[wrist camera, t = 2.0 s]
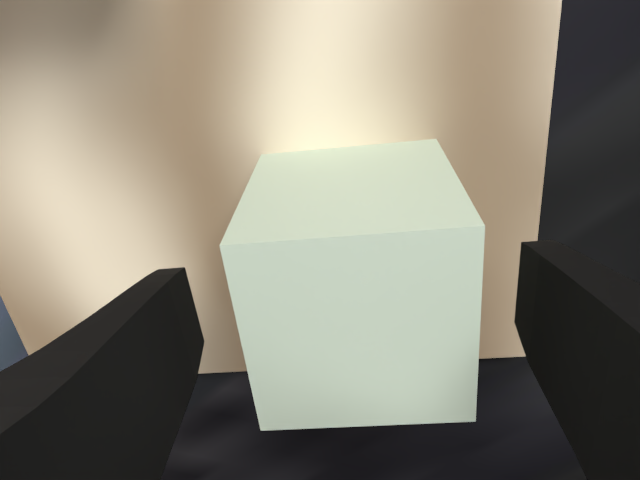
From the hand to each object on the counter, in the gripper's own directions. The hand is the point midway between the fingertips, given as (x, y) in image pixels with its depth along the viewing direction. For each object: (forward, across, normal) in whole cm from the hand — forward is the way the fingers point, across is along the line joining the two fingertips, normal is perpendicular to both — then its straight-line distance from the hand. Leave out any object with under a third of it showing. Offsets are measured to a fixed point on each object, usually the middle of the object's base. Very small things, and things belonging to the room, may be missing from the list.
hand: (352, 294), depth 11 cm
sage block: (+3, 0, 0) cm, 3 cm away
